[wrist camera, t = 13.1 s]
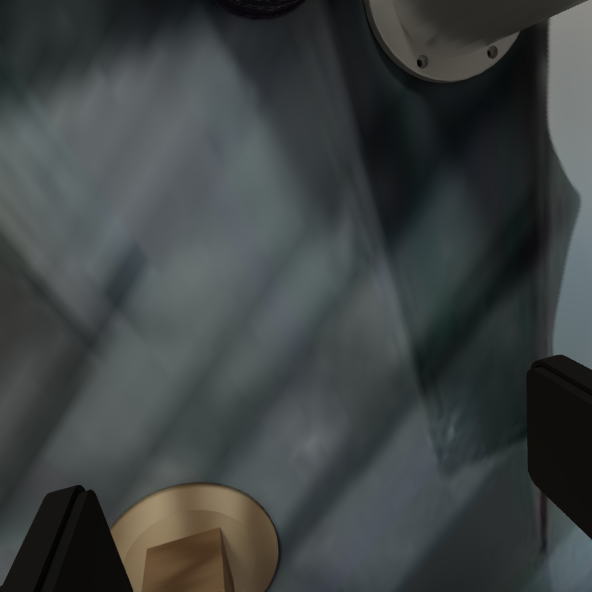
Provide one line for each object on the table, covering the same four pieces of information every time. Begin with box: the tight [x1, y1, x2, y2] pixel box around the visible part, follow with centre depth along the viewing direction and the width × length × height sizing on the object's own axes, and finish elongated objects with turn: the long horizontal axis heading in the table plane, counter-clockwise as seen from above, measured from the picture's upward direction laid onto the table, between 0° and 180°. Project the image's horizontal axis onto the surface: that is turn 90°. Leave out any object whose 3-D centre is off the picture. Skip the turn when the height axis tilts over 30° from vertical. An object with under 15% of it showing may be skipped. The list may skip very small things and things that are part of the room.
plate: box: [110, 483, 278, 592], centre depth 38 cm, size 15×15×1 cm
